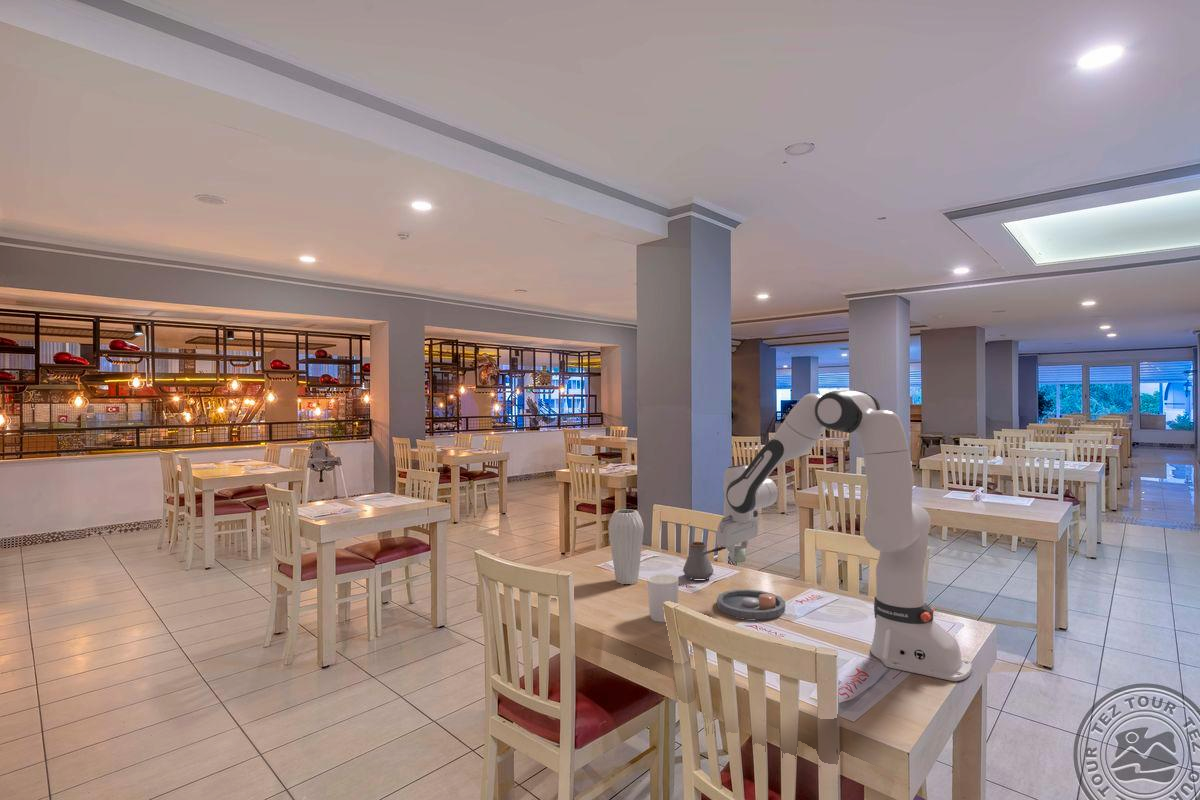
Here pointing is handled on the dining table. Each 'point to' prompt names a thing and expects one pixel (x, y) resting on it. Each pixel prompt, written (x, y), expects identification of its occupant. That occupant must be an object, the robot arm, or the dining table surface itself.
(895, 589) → the robot arm
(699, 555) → the coffee pot
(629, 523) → the vase
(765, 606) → the terracotta bead
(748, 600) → the groove tray
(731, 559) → the sage bead
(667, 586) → the white paper cup
